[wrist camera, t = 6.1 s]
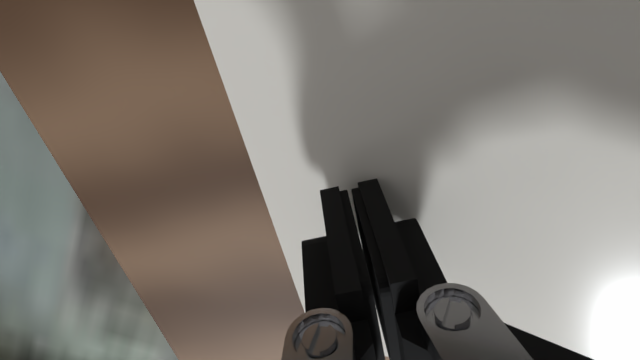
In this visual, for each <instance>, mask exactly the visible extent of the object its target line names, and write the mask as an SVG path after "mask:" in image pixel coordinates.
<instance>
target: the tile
mask: <svg viewBox="0 0 640 360" xmlns="http://www.w3.org/2000/svg"><path fill="white" fill-rule="evenodd" d="M194 3H195V5H196V8H197V11H198V14H199V17H200V19H201V22H202V25H203V28H204V31H205V34H206V36H207V39H208V42H209V45H210V48H211V50H212V53H213V56H214V59H215V62H216V64H217V67H218V70H219V73H220V76H221V79H222V81H223V84H224V87H225V90H226V93H227V95H228V98H229V101H230V104H231V107H232V110H233V112H234V115H235V118H236V121H237V124H238V126H239V129H240V132H241V135H242V138H243V141H244V143H245V146H246V149H247V152H248V155H249V157H250V160H251V163H252V166H253V169H254V171H255V174H256V177H257V180H258V183H259V186H260V188H261V191H262V194H263V197H264V200H265V202H266V205H267V208H268V211H269V214H270V217H271V219H272V222H273V225H274V228H275V231H276V233H277V236H278V239H279V242H280V245H281V247H282V250H283V253H284V256H285V259H286V262H287V264H288V267H289V270H290V273H291V276H292V278H293V281H294V284H295V287H296V290H297V293H298V295H299V298H300V301H301V304H302V307H303V309H304V312H305V296H304V279H303V262H302V241H304V240H308V239H313V238H318V237H323V236H326V230H325V223H324V217H323V210H322V203H321V196H320V190H323V189H328V188H332V187H337V186H339V191H343V190H347V191H348V195H349V199H350V203H351V207H352V211H353V215H354V219H355V222H356V226H357V230H358V234H359V229H358V223H357V218H356V212H355V207H354V202H353V196H352V191H351V189H353V188H358V182H362V181H367V180H371V179H376V178H377V180H378V182H379V184H380V187H381V189H382V192H383V194H384V197H385V199H386V202H387V204H388V207H389V209H390V212H391V214H392V217H393V219H394V222H397V221H402V220H407V219H411V218H415V219H416V220H417V221H418V223H419V225H420V227H421V229H422V231H423V233H424V235H425V237H426V240H427V242H428V244H429V246H430V248H431V250H432V252H433V254H434V256H435V258H436V260H437V262H438V264H439V266H440V268H441V270H442V273H443V275H444V277H445V279H446V281H447V283H457V284H461V285H465V286H468V287H470V288H472V289H474V290H475V291H477V292H478V293H479V294H480V295H481V296H482V297H483V298H484V299H485V300H486V301H487V302H488V304H489V305H490V306H491V307H492V309H493V310H494V311H495V312H496V314H497V315H498V316H499V317H500V319H501V320H502V321H503V322H504V323H506V324H508V325H511V326H513V327H516V328H518V329H520V330H523V331H525V332H528V333H530V334H533V335H535V336H538V337H540V338H542V339H545V340H547V341H550V342H552V343H555V344H557V345H560V346H562V347H564V348H567V349H569V350H572V351H574V352H577V353H579V354H582V355H584V356H586V357H589V358H591V359H594V360H640V0H194ZM359 238H360V234H359ZM360 242H361V239H360ZM361 246H362V245H361ZM375 306H376V305H375ZM376 311H377V309H376ZM377 317H378V313H377ZM378 322H379V328H380V333H381V339H382V344H383V350H384V355H385V356H387V357H389V356H388V352H387V348H386V344H385V340H384V336H383V333H382V329H381V325H380V321H379V317H378Z"/></svg>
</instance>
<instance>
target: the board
mask: <svg viewBox="0 0 640 360" xmlns="http://www.w3.org/2000/svg"><path fill="white" fill-rule="evenodd" d="M0 72H1V73H2V75H3V76H4V78H5V80H6V81H7V83H8V84H9V86H10V88H11V89H12V91H13V93H14V94H15V96H16V97H17V99H18V101H19V102H20V104H21V106H22V107H23V109H24V110H25V112H26V114H27V115H28V117H29V118H30V120H31V122H32V123H33V125H34V127H35V128H36V130H37V131H38V133H39V135H40V136H41V138H42V139H43V141H44V143H45V144H46V146H47V148H48V149H49V151H50V152H51V154H52V156H53V157H54V159H55V160H56V162H57V164H58V165H59V167H60V169H61V170H62V172H63V173H64V175H65V177H66V178H67V180H68V182H69V183H70V185H71V186H72V188H73V190H74V191H75V193H76V194H77V196H78V198H79V199H80V201H81V203H82V204H83V206H84V207H85V209H86V211H87V212H88V214H89V215H90V217H91V219H92V220H93V222H94V224H95V225H96V227H97V228H98V230H99V232H100V233H101V235H102V236H103V238H104V240H105V241H106V243H107V245H108V246H109V248H110V249H111V251H112V253H113V254H114V256H115V258H116V259H117V261H118V262H119V264H120V266H121V267H122V269H123V270H124V272H125V274H126V275H127V277H128V279H129V280H130V282H131V283H132V285H133V287H134V288H135V290H136V291H137V293H138V295H139V296H140V298H141V300H142V301H143V303H144V304H145V306H146V308H147V309H148V311H149V312H150V314H151V316H152V317H153V319H154V321H155V322H156V324H157V325H158V327H159V329H160V330H161V332H162V334H163V335H164V337H165V338H166V340H167V342H168V343H169V345H170V346H171V348H172V350H173V351H174V353H175V355H176V356H177V358H178V359H179V360H281V358H282V352H283V346H284V341H285V336H286V333H287V330H288V328H289V327H290V325H291V324H292V322H293V321H294V320H295V319H296V318H298V317H299V316H300V315H301V314H303V313H305V312H304V309H303V307H302V304H301V301H300V298H299V295H298V293H297V290H296V287H295V284H294V281H293V278H292V276H291V273H290V270H289V267H288V264H287V262H286V259H285V256H284V253H283V250H282V247H281V245H280V242H279V239H278V236H277V233H276V231H275V228H274V225H273V222H272V219H271V217H270V214H269V211H268V208H267V205H266V202H265V200H264V197H263V194H262V191H261V188H260V186H259V183H258V180H257V177H256V174H255V171H254V169H253V166H252V163H251V160H250V157H249V155H248V152H247V149H246V146H245V143H244V141H243V138H242V135H241V132H240V129H239V126H238V124H237V121H236V118H235V115H234V112H233V110H232V107H231V104H230V101H229V98H228V95H227V93H226V90H225V87H224V84H223V81H222V79H221V76H220V73H219V70H218V67H217V64H216V62H215V59H214V56H213V53H212V50H211V48H210V45H209V42H208V39H207V36H206V34H205V31H204V28H203V25H202V22H201V19H200V17H199V14H198V11H197V8H196V5H195V3H194V0H0ZM385 360H389V357H387V356H385Z"/></svg>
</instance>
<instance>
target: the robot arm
mask: <svg viewBox="0 0 640 360" xmlns="http://www.w3.org/2000/svg"><path fill="white" fill-rule="evenodd" d="M351 191H352V196H353V202H354V207H355V212H356V218H357V223H358V229H359V234H360V238H359V234H358V230H357V226H356V222H355V219H354V215H353V211H352V207H351V203H350V199H349V195H348V191H347V190H343V191H339V186H337V187H332V188H328V189H323V190H320V196H321V203H322V210H323V217H324V223H325V230H326V236H323V237H318V238H313V239H308V240H304V241H302V262H303V279H304V296H305V313H303V314H301V315H300V316H299V317H298V318H296V319H295V320H294V321H293V322H292V324H291V325H290V327H289V328H288V330H287V333H286V336H285V341H284V346H283V352H282V358H281V360H385V355H384V350H383V344H382V339H381V333H380V328H379V322H378V317H379V321H380V325H381V329H382V333H383V336H384V340H385V344H386V348H387V352H388V356H389V360H594V359H591V358H589V357H586V356H584V355H582V354H579V353H577V352H574V351H572V350H569V349H567V348H564V347H562V346H560V345H557V344H555V343H552V342H550V341H547V340H545V339H542V338H540V337H538V336H535V335H533V334H530V333H528V332H525V331H523V330H520V329H518V328H516V327H513V326H511V325H508V324H506V323H504V322H503V321H502V320H501V319H500V317H499V316H498V315H497V314H496V312H495V311H494V310H493V309H492V307H491V306H490V305H489V304H488V302H487V301H486V300H485V299H484V298H483V297H482V296H481V295H480V294H479V293H478V292H477V291H475V290H474V289H472V288H470V287H468V286H465V285H461V284H457V283H447V281H446V279H445V277H444V275H443V273H442V270H441V268H440V266H439V264H438V262H437V260H436V258H435V256H434V254H433V252H432V250H431V248H430V246H429V244H428V242H427V240H426V237H425V235H424V233H423V231H422V229H421V227H420V225H419V223H418V221H417V220H416V219H415V218H411V219H407V220H402V221H397V222H394V219H393V217H392V214H391V212H390V209H389V207H388V204H387V202H386V199H385V197H384V194H383V192H382V189H381V187H380V184H379V182H378V180H377V178H376V179H371V180H367V181H362V182H358V188H353V189H351ZM360 239H361V242H360ZM361 245H362V246H361ZM375 305H376V306H375ZM376 309H377V311H376ZM377 313H378V317H377Z"/></svg>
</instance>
